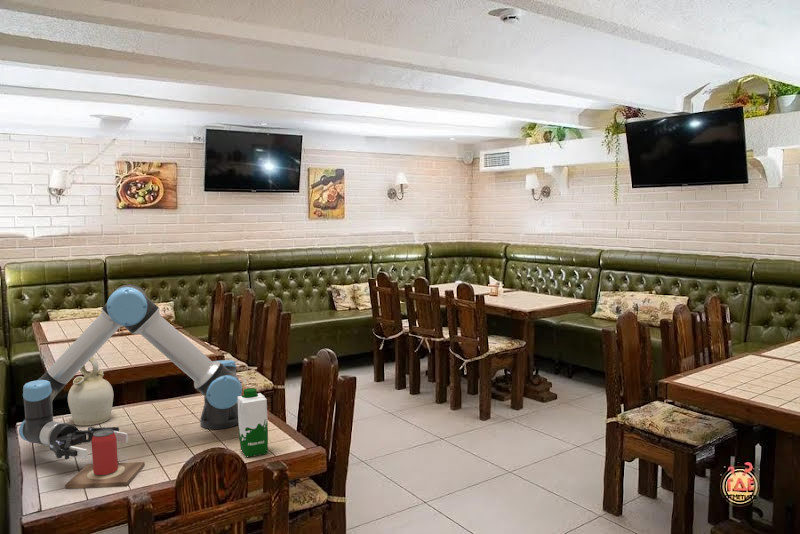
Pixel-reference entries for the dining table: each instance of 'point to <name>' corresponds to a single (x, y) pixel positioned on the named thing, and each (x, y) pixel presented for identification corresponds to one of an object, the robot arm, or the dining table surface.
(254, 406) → the milk carton
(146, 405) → the dining table surface
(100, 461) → the beer can
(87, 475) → the serving board
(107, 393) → the jug
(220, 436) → the dining table surface
